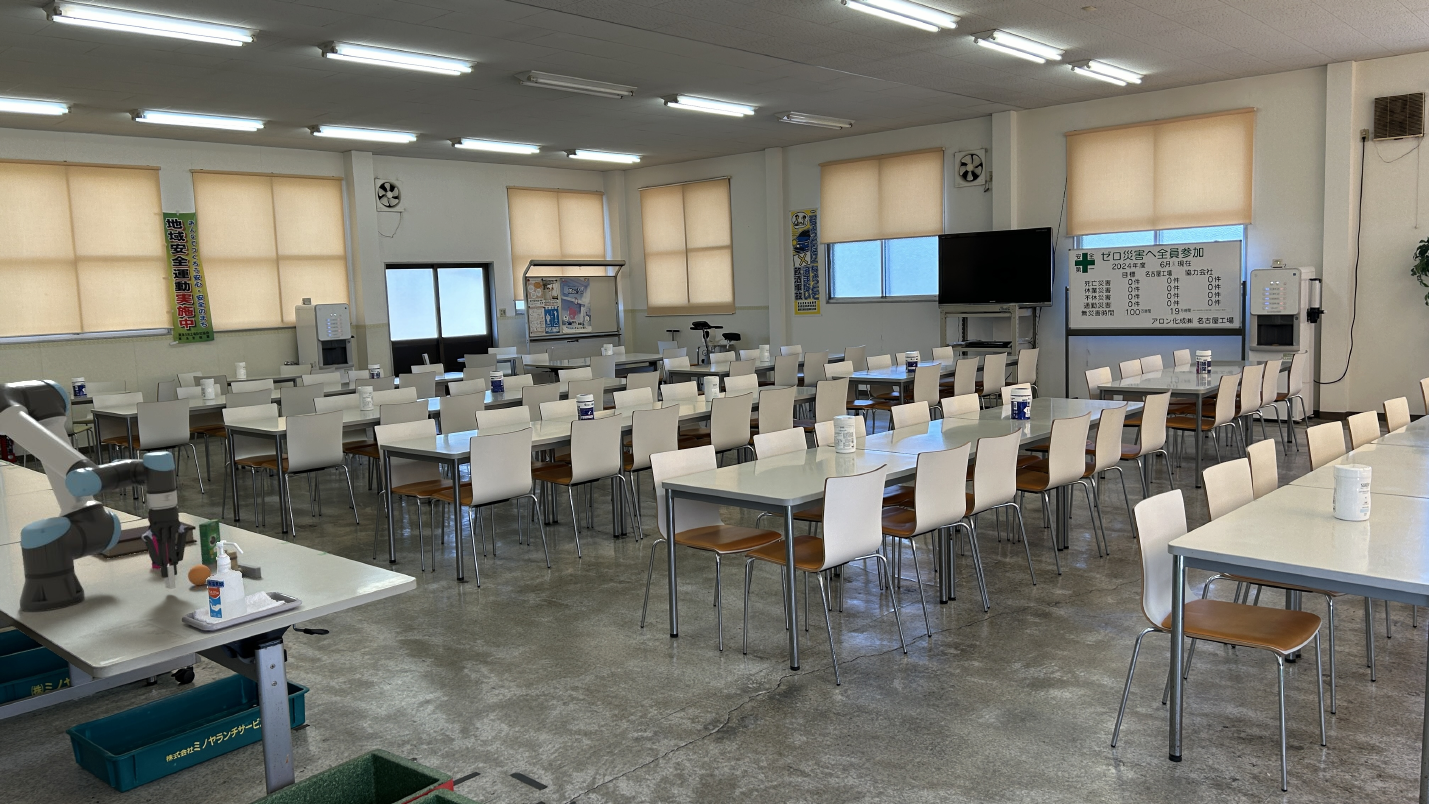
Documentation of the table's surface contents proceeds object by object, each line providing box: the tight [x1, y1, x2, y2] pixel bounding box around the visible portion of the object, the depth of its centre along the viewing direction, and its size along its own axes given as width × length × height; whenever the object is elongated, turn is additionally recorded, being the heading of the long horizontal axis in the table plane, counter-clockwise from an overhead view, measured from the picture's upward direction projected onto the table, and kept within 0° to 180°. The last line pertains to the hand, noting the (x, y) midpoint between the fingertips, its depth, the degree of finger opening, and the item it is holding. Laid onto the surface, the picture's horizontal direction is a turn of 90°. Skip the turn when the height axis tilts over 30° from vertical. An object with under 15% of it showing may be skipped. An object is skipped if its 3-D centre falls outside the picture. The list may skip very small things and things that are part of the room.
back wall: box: [237, 561, 262, 579], centre depth 301 cm, size 2×14×3 cm, turn 56°
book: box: [97, 521, 198, 559], centre depth 344 cm, size 28×20×6 cm
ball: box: [187, 564, 212, 586], centre depth 291 cm, size 6×6×6 cm
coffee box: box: [198, 519, 221, 565], centre depth 319 cm, size 8×3×13 cm, turn 179°
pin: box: [228, 550, 239, 571], centre depth 296 cm, size 2×2×8 cm
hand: (170, 587), depth 283 cm, fingers closed
